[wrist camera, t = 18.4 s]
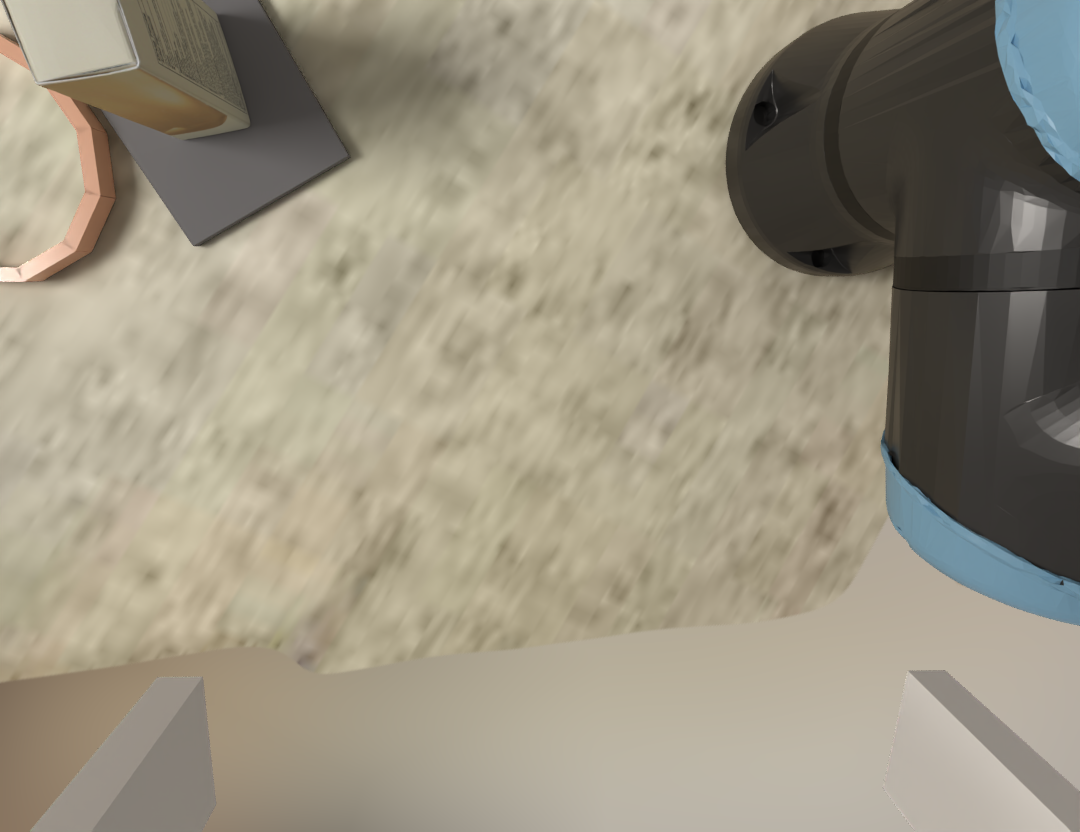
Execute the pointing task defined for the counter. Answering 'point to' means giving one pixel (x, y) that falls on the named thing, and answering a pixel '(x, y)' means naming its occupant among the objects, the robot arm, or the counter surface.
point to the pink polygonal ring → (95, 181)
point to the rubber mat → (240, 136)
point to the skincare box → (135, 60)
